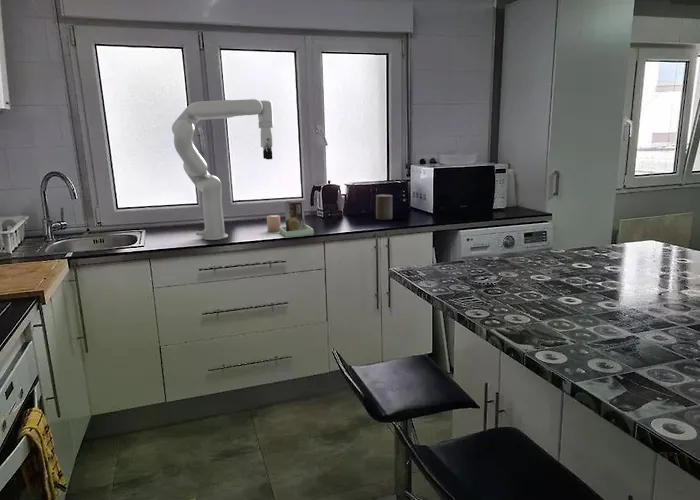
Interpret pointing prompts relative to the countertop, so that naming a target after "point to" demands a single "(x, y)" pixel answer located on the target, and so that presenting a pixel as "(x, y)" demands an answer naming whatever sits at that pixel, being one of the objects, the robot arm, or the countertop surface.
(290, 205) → the coffee box
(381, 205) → the pillar candle
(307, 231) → the tray
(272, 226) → the light brown rounded block
